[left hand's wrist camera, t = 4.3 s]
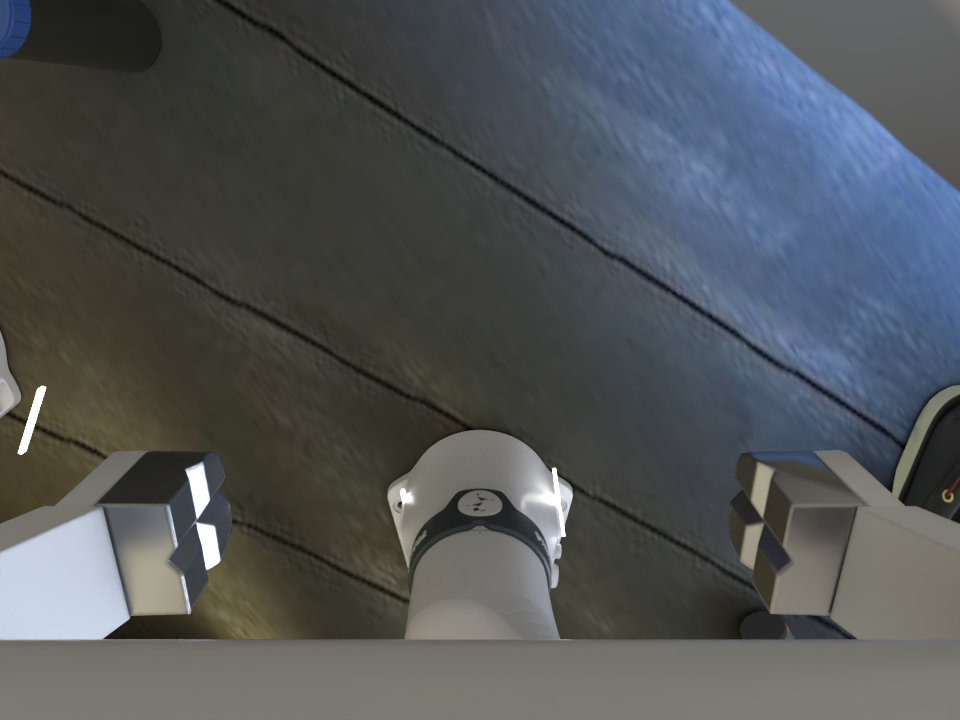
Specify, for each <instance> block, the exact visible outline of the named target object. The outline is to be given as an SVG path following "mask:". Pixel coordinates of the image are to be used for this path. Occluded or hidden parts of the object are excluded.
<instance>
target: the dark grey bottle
mask: <svg viewBox="0 0 960 720" xmlns="http://www.w3.org/2000/svg"><path fill="white" fill-rule="evenodd" d="M29 3H30V7H31V9H32V10H31V23H30V24H31V26H30V29H29V32H28V35H27V38H26V39H27V40H26V41H24V43H23V44H22V46H21V47H20V48H19V49H18V52H14V53H13V54H12V55H10V56H8V57H6V58H12V59H21V60H29V61H38V62H47V63H55V64H64V65H73V66H82V67H90V68H99V69H108V70H116V71H125V72H139V71H142V70H144V69H147V68H148V67H149V66H151V65H152V64H153V63H154V61H155V60H156V58H157V56H158V54H159V51H160V46H161V36H160V31H159V27H158V25H157V22H156V20H155V18H154V17H153V15H152V14H151V12H150V11H149V10H148V9H147V8H146V7H145V6H144V5H143V4H141V3H140V2H138V1H137V0H29Z"/></svg>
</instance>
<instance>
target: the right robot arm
mask: <svg viewBox="0 0 960 720" xmlns="http://www.w3.org/2000/svg"><path fill="white" fill-rule="evenodd" d="M45 389H46V387H44V386H42V387H40V388H39V389H38V390H37V393H36V396H35V400H34V403H33V406H32V409H31V413H30V416H29V419H28V422H27V426H26V429H25V432H24V435H23V439H22V442H21V445H20V448H19V452H18V453H19V454H23V453H24V452H26V450H27V447H28V444H29V441H30V437H31V434H32V431H33V428H34V424H35V421H36V418H37V415H38V412H39V408H40V405H41V402H42V399H43V396H44V392H45ZM20 401H21V393H20V390H19V388H18V386H17V384H16V382H15V380H14V378H13V376H12V375H11V373H10V371H9V368H8V363H7V355H6V348H5V343H4V340H3V337H2V334H1V332H0V418H2V417H3V416H4V415H5V414H6V413H8V412H9V411H10V410H11V409H13V408H14V407H15V406H16V405H17V404H18V403H19V402H20Z"/></svg>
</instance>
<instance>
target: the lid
mask: <svg viewBox="0 0 960 720" xmlns="http://www.w3.org/2000/svg"><path fill="white" fill-rule="evenodd" d="M31 10H32V9H31V7H30V3H29V0H0V59H7V58H6V57H8V56H10V55H12V54H13V53H14V52H18V49H19V48H20V47H21V46H22V44H23V43H24V41H26V40H27V39H26V38H27V35H28V32H29V29H30V26H31V24H30V23H31Z"/></svg>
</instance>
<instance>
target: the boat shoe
mask: <svg viewBox="0 0 960 720" xmlns="http://www.w3.org/2000/svg"><path fill="white" fill-rule="evenodd" d="M892 494H893V495H894V496H895V497H896V498H897V499H898V500H899V501H900V502H902V503H903V504H904V505H905V506H917V507H919V508H922V509H924V510H927V511H929V512H932V513H934V514H937V515H939V516H942V517H944V518H947V519H949V520H952V521H954V522H956V523H959V524H960V385H954V386H951V387H948V388H946V389H944V390H942V391H940V392H939V393H938V394H936V395H935V396H934V397H933V398H932V399H931V400H930V401H929V402H928V403H927V405H926V406H925V407H924V409H923V410H922V412H921V414H920V416H919V418H918V420H917V422H916V424H915V426H914V429H913V431H912V433H911V435H910V438H909V440H908V443H907V445H906V447H905V450H904V452H903V455H902V457H901V459H900V462H899V464H898V467H897V469H896V474H895V479H894V484H893V491H892Z"/></svg>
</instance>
